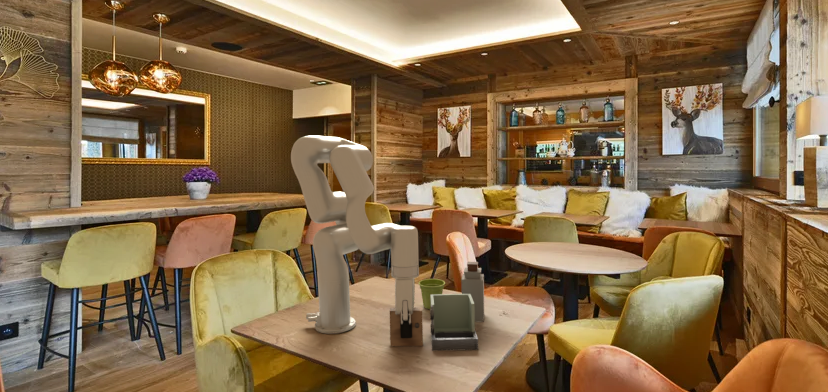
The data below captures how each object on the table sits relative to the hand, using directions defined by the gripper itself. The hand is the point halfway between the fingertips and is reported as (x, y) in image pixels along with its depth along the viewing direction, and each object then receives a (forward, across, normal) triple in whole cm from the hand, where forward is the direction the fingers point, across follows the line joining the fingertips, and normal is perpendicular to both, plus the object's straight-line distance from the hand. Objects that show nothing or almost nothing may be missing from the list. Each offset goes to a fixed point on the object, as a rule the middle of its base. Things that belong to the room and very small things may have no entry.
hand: (406, 334), depth 116 cm
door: (+3, 0, 0) cm, 3 cm away
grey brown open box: (+3, +2, +13) cm, 13 cm away
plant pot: (+3, -30, +8) cm, 31 cm away
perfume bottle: (+3, -19, +21) cm, 29 cm away
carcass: (+3, -5, +13) cm, 14 cm away
